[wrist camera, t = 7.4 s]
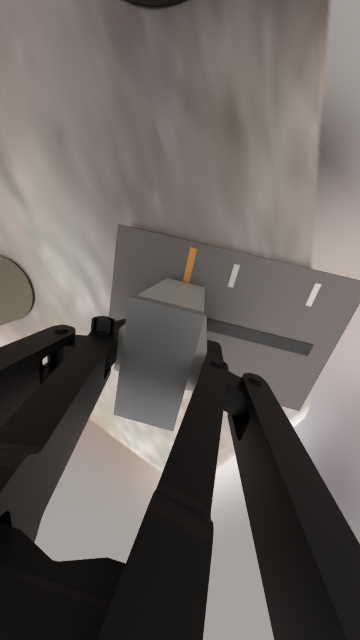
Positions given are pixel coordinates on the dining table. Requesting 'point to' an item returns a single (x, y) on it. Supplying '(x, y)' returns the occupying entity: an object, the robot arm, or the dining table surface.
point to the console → (246, 305)
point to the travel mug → (13, 292)
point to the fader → (159, 351)
